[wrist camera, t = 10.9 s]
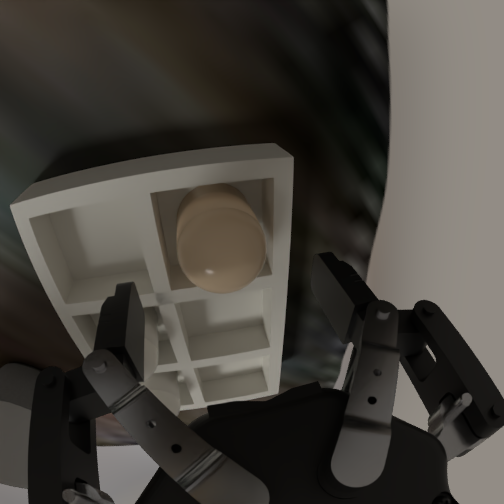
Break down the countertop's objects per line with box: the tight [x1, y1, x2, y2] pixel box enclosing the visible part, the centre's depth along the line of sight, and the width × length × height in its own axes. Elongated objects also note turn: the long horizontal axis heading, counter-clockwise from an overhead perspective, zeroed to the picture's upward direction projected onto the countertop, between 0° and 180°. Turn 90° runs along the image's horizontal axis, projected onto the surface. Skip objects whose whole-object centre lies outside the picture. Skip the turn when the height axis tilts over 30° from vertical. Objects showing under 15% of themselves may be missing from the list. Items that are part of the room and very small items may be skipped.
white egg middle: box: [139, 306, 159, 384], centre depth 18 cm, size 4×4×6 cm
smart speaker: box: [0, 363, 41, 489], centre depth 17 cm, size 10×9×14 cm
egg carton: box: [10, 143, 294, 410], centre depth 20 cm, size 15×22×3 cm
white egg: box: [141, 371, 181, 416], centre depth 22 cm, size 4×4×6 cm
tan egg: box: [176, 183, 267, 294], centre depth 15 cm, size 4×4×6 cm
